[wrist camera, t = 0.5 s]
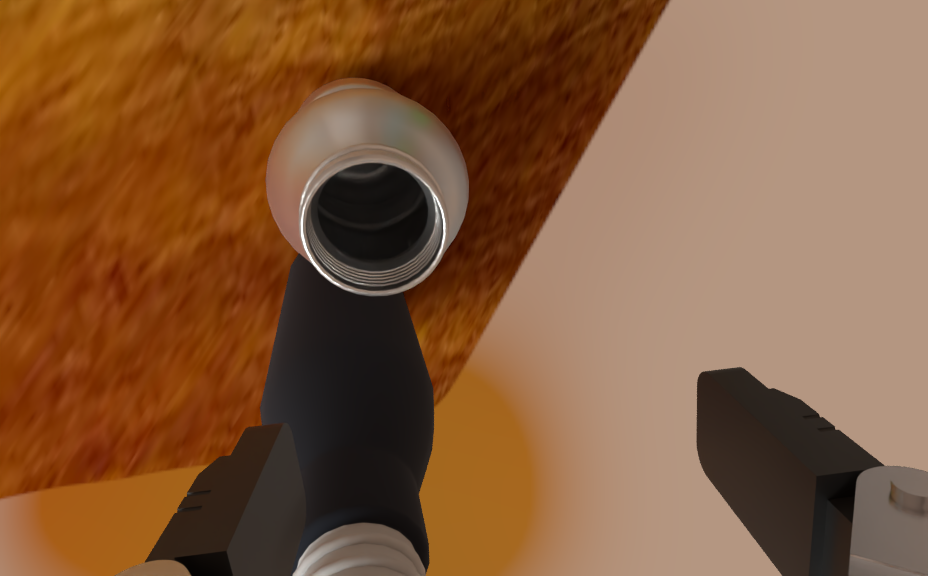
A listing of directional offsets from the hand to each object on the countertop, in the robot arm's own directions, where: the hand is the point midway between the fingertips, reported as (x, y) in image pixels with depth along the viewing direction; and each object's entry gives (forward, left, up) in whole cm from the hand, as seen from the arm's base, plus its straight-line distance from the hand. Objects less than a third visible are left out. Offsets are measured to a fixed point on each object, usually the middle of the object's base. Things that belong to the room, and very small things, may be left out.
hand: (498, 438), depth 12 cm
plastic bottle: (-3, +2, -25) cm, 25 cm away
